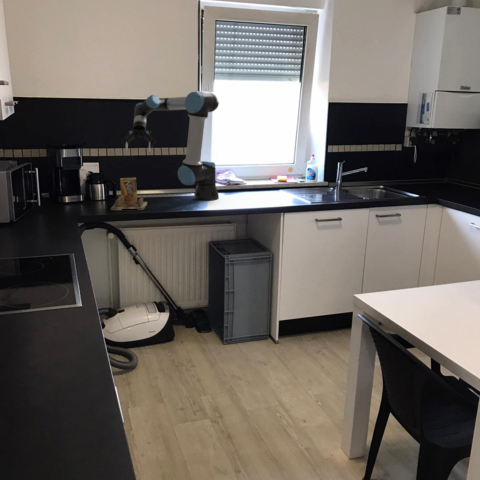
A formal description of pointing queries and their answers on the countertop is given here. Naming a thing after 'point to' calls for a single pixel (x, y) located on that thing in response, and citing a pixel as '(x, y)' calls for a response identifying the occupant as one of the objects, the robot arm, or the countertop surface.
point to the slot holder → (129, 204)
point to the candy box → (128, 189)
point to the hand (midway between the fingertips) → (137, 152)
